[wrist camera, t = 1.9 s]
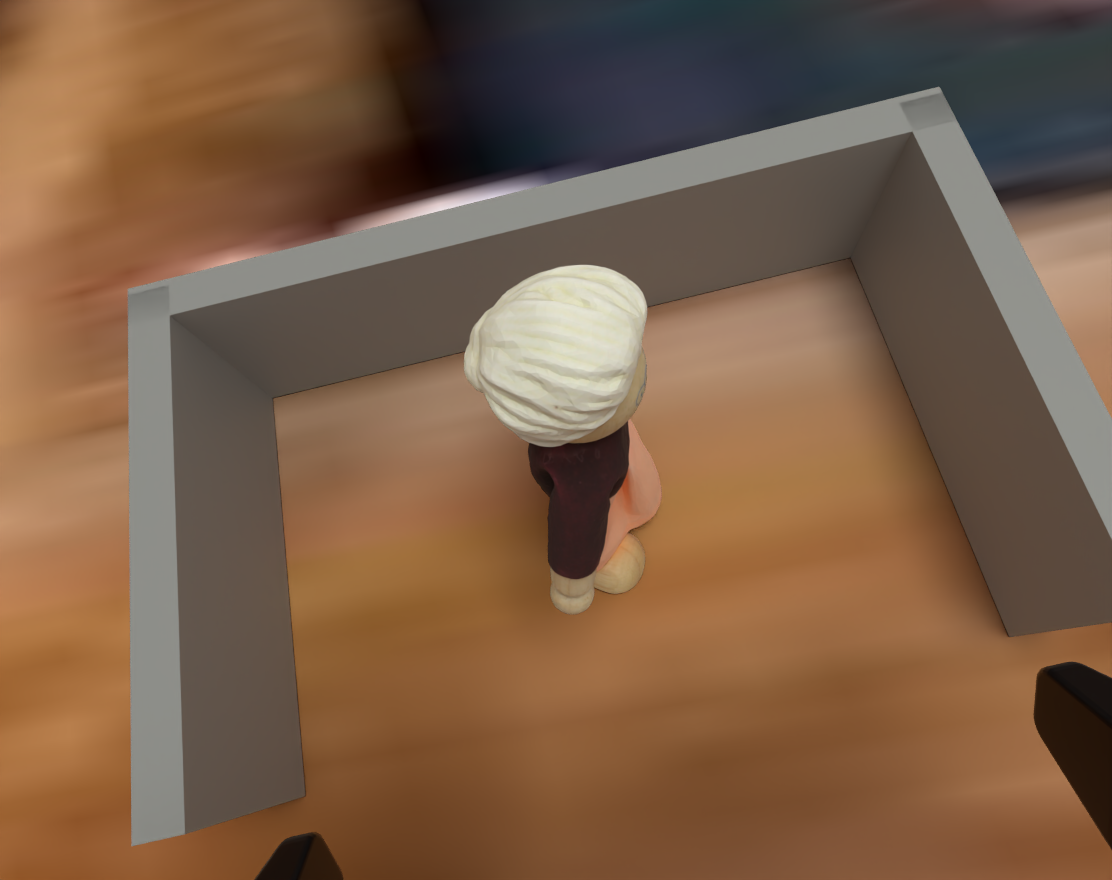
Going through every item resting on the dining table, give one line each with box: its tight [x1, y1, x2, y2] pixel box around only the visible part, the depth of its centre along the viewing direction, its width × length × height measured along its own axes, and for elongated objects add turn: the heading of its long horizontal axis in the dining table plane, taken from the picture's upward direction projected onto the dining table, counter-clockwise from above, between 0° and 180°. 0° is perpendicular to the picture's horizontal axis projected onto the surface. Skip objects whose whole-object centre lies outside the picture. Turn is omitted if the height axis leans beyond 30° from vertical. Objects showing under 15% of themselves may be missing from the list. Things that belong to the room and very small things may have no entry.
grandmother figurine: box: [464, 265, 662, 614], centre depth 17 cm, size 8×4×13 cm, turn 9°
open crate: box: [128, 87, 1112, 846], centre depth 20 cm, size 14×23×6 cm, turn 102°
